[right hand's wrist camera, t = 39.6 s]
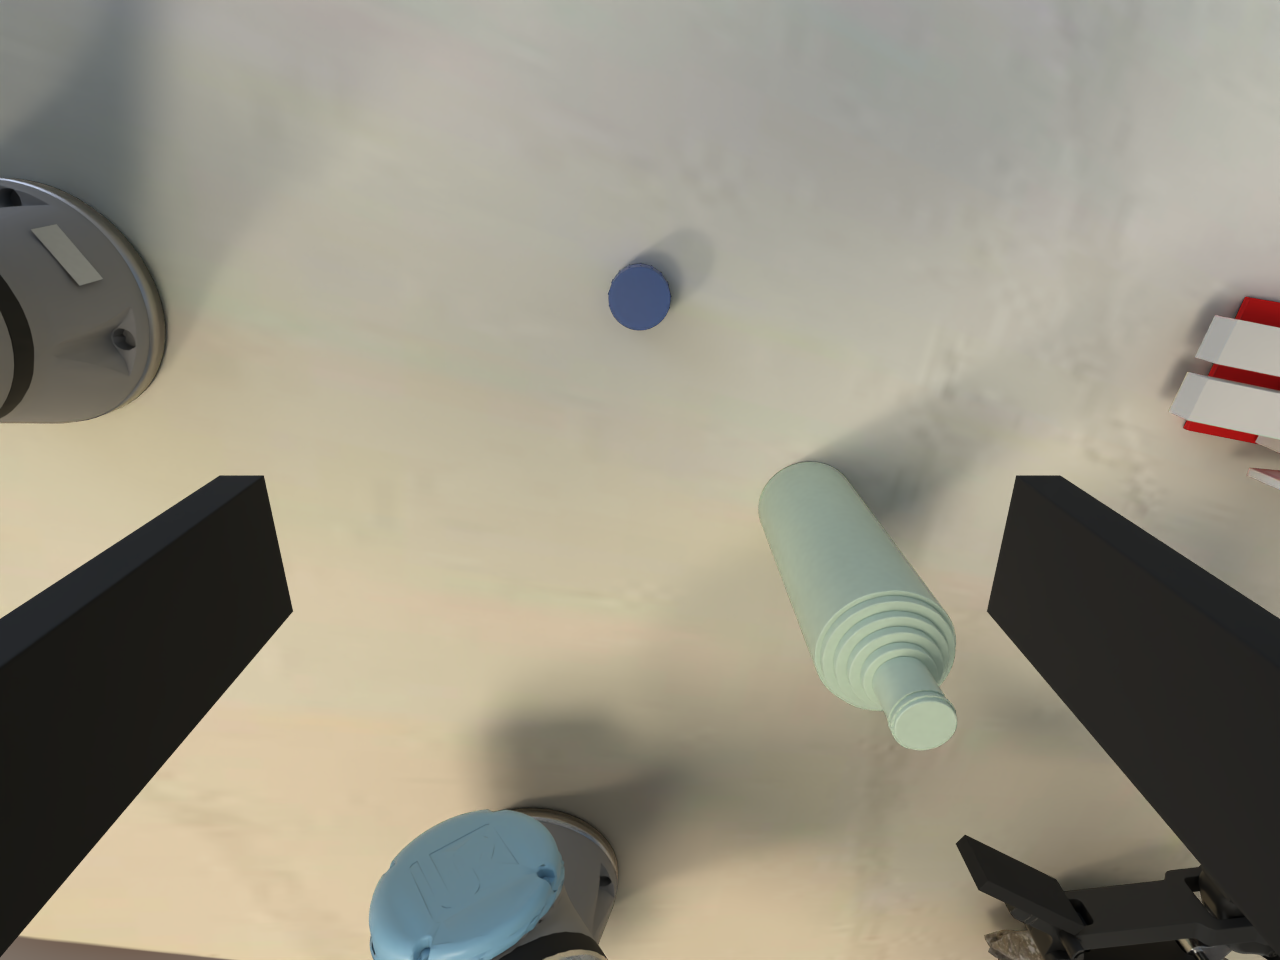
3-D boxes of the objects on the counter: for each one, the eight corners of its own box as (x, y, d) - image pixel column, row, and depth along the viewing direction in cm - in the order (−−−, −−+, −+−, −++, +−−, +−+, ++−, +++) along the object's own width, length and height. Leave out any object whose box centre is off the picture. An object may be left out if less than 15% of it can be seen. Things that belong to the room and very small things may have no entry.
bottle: (793, 444, 50) (912, 631, 28) (873, 490, 51) (1044, 702, 29) (740, 521, 52) (811, 750, 30) (817, 563, 53) (937, 810, 32)
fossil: (963, 991, 65) (1101, 1028, 52) (952, 873, 70) (1076, 881, 57) (1151, 1007, 70) (1319, 1045, 57) (1128, 895, 74) (1279, 907, 62)
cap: (632, 337, 47) (631, 343, 45) (597, 286, 46) (594, 290, 43) (681, 302, 46) (683, 307, 44) (647, 250, 45) (647, 252, 43)
